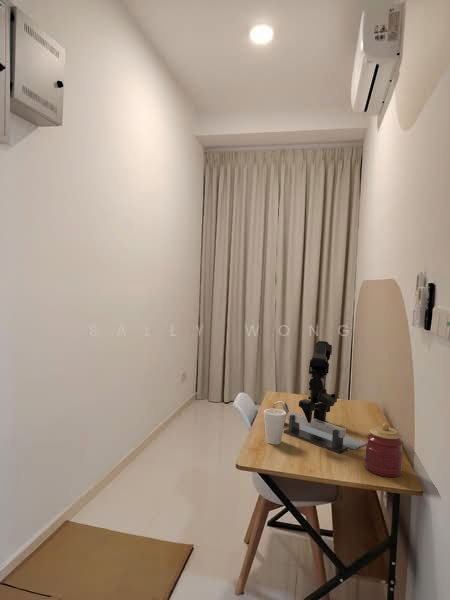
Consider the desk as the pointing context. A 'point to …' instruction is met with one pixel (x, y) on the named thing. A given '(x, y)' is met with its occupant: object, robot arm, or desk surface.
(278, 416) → the foam cup
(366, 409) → the desk surface
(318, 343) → the robot arm
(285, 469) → the desk surface
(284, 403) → the watch
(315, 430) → the mat
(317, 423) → the rail
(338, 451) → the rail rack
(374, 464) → the canister
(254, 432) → the desk surface
